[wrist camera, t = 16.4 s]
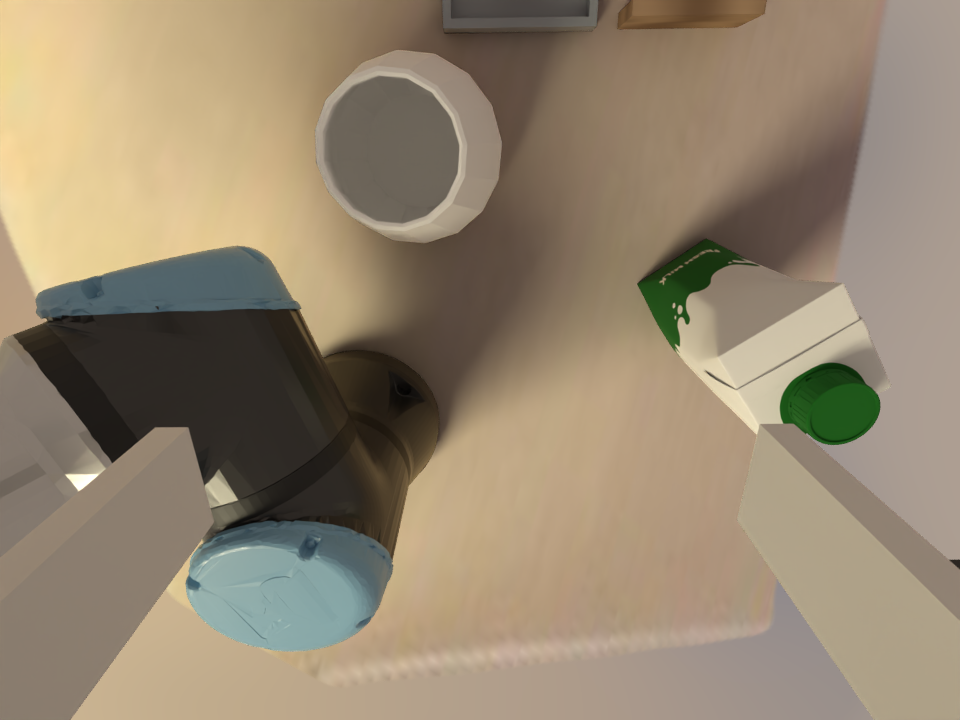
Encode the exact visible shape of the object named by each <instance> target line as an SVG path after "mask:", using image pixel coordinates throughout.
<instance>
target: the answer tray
mask: <svg viewBox="0 0 960 720" xmlns="http://www.w3.org/2000/svg"><path fill="white" fill-rule="evenodd" d="M442 6H443V29H444V32H445V33H496V32H564V31H593V30H594V29H595V27H596V26H597V13H598V0H442Z"/></svg>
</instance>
